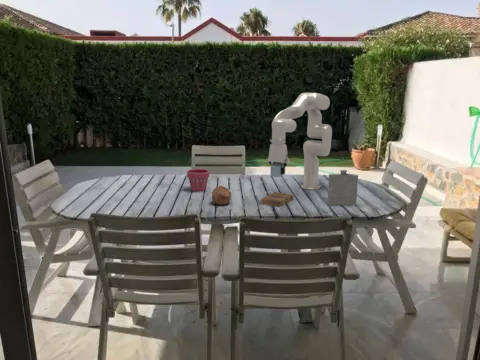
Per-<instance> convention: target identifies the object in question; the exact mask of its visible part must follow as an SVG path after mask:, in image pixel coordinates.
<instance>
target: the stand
mask: <svg viewBox="0 0 480 360" xmlns="http://www.w3.org/2000/svg"><path fill="white" fill-rule="evenodd" d="M293 200H294V194H292V193H285V192H284V193H283V192H277V191H274V192H273V193H270V194H268V195H266V196H263V197H261V198H260V204H261V205H267V206H272V207H277V206H278V207H279V208H280V206H281V207H282V206H284V205H286V204H288V203H289V202H291V201H293Z"/></svg>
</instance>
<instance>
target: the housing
mask: <svg viewBox="0 0 480 360" xmlns="http://www.w3.org/2000/svg"><path fill="white" fill-rule="evenodd" d="M281 167H282V166H281V163H279V162H275V163H273V164H271V165H270V177H275V178H279V177H282V176H284V175H286V171H285V172H284V174H281Z"/></svg>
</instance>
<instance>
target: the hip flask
mask: <svg viewBox="0 0 480 360" xmlns="http://www.w3.org/2000/svg"><path fill="white" fill-rule="evenodd" d="M339 172H340V173H329V174H328V188H327V189H328V191H327V206H349V205H356V206H357V197H358V184H359V183H358V182H359V175H358V174H356V173H355V174H354V173H347V172H348V170H347V169H340V171H339Z"/></svg>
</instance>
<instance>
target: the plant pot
mask: <svg viewBox="0 0 480 360" xmlns="http://www.w3.org/2000/svg"><path fill="white" fill-rule="evenodd" d="M186 177H187V178H188V182H189V187H190V189H191V191H192V192H200V191H201V192H204V190H205V191H206V189H207V183H208V179H209V177H210V171H209V169H205V168H193V169H188V170H187V171H186Z"/></svg>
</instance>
